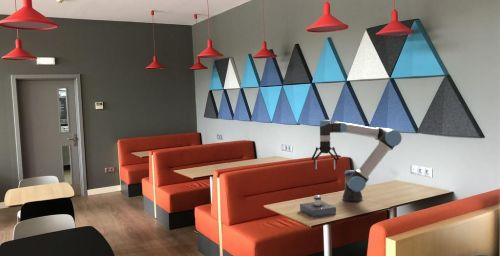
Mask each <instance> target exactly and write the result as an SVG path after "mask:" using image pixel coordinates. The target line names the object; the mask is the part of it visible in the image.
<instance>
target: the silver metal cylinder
mask: <svg viewBox="0 0 500 256" xmlns="http://www.w3.org/2000/svg"><path fill="white" fill-rule="evenodd" d="M313 199H314V200H313V202H314V206H315V207H321V201H322V195H320V194H316V195H313Z"/></svg>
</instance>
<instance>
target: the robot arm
mask: <svg viewBox="0 0 500 256" xmlns="http://www.w3.org/2000/svg"><path fill="white" fill-rule="evenodd" d="M332 133H336V134H337V133H340V134H341V133H345V134H350V135H355V136H361V137H368V138H371V139H374V140H377V141H378V144H377V145H376V147H375V148H374V150H372V152H371V153H370V155H369V156H368V157H367V159H365V161H364V162H363V163H362V164H361V166H360V167H359V168H358V169H349V170H345V171H344V191H343V194H342V200H343V201H345V202H350V203H358V202H362V201H363V195H362V191H363V190H364V189H366V185H367V184H366V183H367V182H368V181H369V180H370V179H369V177H370V176H371V174H372V172H373V171H374V170H375V169H376V168H377V166H378V165H379V164H380V162H382V160H383V158H384V157H385V156H386V155H387V153H389V151H392V150H393V149H394V148H395V147H397V146H398V145H400V144H401V142H402V135H401V133H400V132H399V131H398V130H397V129H394V128H390V127H373V126H372V127H371V126H365V125H360V124H355V123H347V122H342V121H338V120H333V121H332V122H331V120H330V119H321V120H319V147H317V146H315V151H314V153H313V155H312V157H311V160H312V161H313V164H314V166H315V170H317V169H318V167H317V165H318V162H317V160H318V158H319V157H320V156H321V155H322V154H329V155H330V156H331V157H332V158H333V169H334V170H336V165H338V162H337V161H338V160H340V158H339V155H338V154H337V152H336V148H335V147H334V146H332V147H331V134H332ZM318 151H319V153H317V152H318ZM331 151H333V153H334V154H333V153H332V152H331Z"/></svg>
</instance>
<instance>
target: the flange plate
mask: <svg viewBox="0 0 500 256" xmlns="http://www.w3.org/2000/svg"><path fill="white" fill-rule="evenodd" d="M299 211H300V212H301V213H303V214H305V215H307V216H309V217H311V218H313V219H316V218H322V217H327V216H328V217H329V216H333V215H336V214H337V207H336V206H334V205H332V204H330V203H327V202H325V201H322V200H321V207H315V206H314V201H313V202H304V203H300V204H299Z"/></svg>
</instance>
